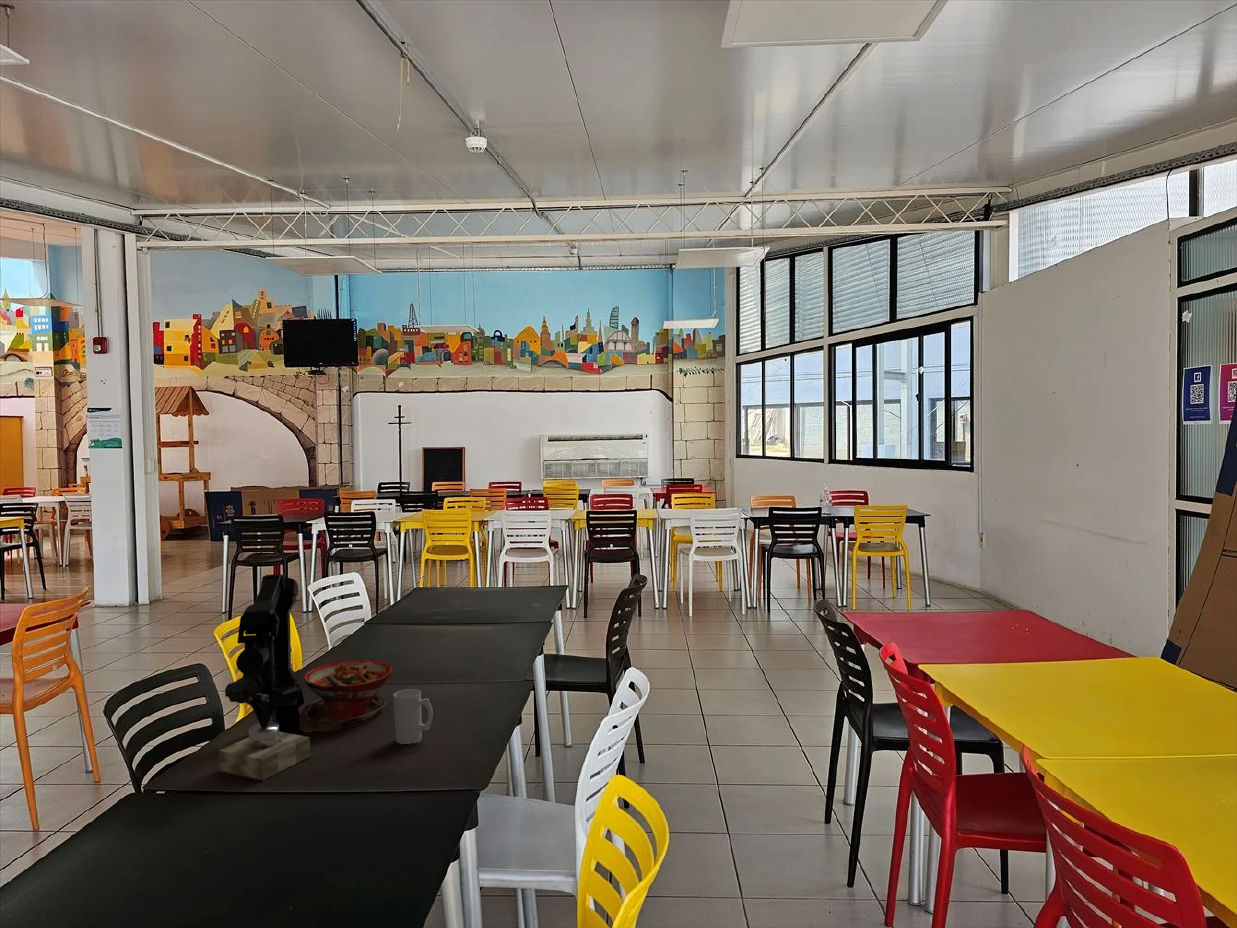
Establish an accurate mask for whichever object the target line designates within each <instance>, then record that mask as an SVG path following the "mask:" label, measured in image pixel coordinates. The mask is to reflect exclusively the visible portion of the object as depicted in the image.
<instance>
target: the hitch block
mask: <svg viewBox="0 0 1237 928" xmlns="http://www.w3.org/2000/svg"><path fill="white" fill-rule="evenodd" d="M279 737H280V742H279V743H278V744H277V745H275V746H273V747H270V748H266V749H264V750H263V749H252V748H250V747H249V737H247V738H244V739H243V740H240V741H238V742H235V743H233V744H230V745H229V746H226V747H224V748H221V749H219V750H218V762H219V770H220V769H221V770H224V771H228V772H232V773H237V774H240V775H245V776H250V777H253V778H259V779H266V778H269V777H271V776H273V775H275V774H277V773H278V772H280V771H282V770H284V769H286V768H287V767H289V766H293V765H295V764H296V763H298V762H300V761H302V760H304V759H306V758H308V757H310V758H311V741H310V737H309V736H304V735H298V734H295V733H290V732H289V733H284V732H279ZM295 766H296V765H295ZM293 767H294V766H293ZM277 775H278V774H277ZM275 776H276V775H275ZM273 777H274V776H273ZM271 778H272V777H271ZM269 779H270V778H269ZM266 780H267V779H266Z"/></svg>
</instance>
